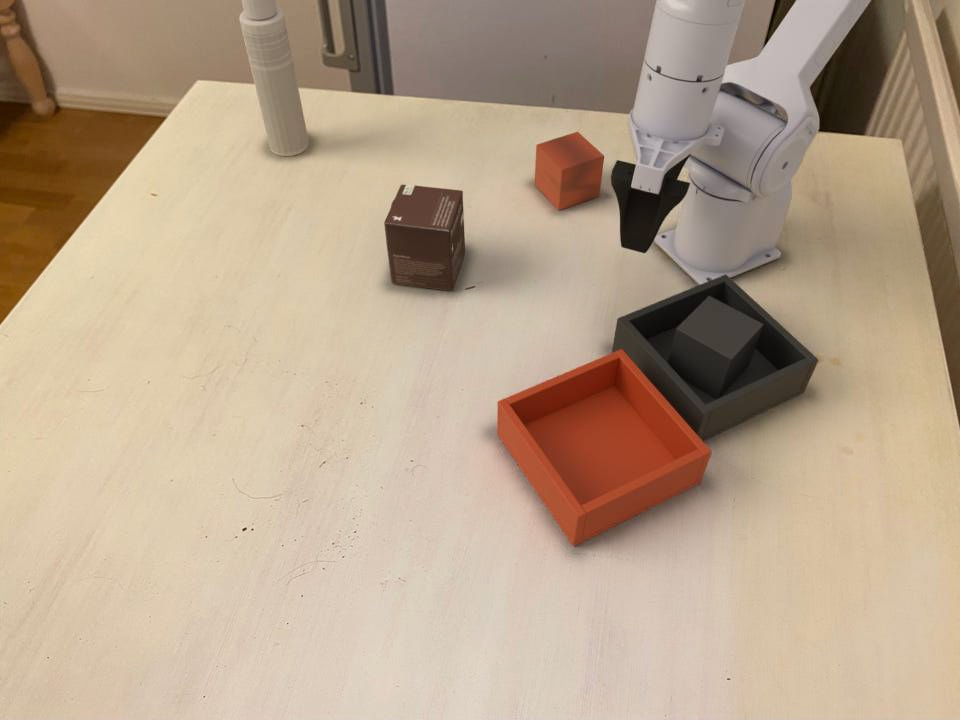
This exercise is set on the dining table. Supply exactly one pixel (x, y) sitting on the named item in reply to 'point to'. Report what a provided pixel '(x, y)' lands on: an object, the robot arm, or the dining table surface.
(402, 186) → the box
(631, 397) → the rust bin
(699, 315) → the grey block
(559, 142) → the red block
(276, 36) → the bottle
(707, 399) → the charcoal bin
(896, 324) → the dining table surface
